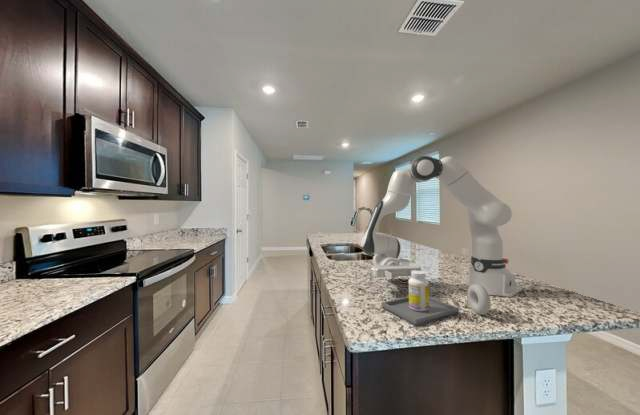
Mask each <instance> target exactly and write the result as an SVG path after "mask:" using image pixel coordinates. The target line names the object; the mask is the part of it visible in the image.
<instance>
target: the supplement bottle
mask: <svg viewBox="0 0 640 415" xmlns="http://www.w3.org/2000/svg"><path fill="white" fill-rule="evenodd" d="M411 275H412V276H411V277H410V278H409V279H408V296H409V307H410V308H411V309H412V310H415V311H421V312H423V311H427V310H428V309H429V297H430V293H429V292H430V290H429V285H430V284H429V281H428V280H427V279H426V271H423V270H421V271H412V272H411Z"/></svg>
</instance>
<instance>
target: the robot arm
mask: <svg viewBox="0 0 640 415" xmlns="http://www.w3.org/2000/svg"><path fill="white" fill-rule="evenodd" d="M435 178H436V179H438V181H441V183H442V184H443V185H444V186H445V188H447V190H448V191H449V192H450V194H451V195H452V196H453V198H455V199H456V201H457V202H459V203H460V204H462V205H463V206H464V207H465V208H466V211H465V215H466V217H467V219H468V226H469V231H470V235H471V247H472V248H471V254H472V255H471V258H470V264H471V266H470V267H469V272H468V278H467V279H468V280H467V281H466V282H465V285H466V286H468V289H469V287H470V286H471V285H473V284H479V285H481V286H483V287H484V288H485V289H486V291H487V292H488V294H489V296H497V297H498V296H499V297H500V296H501V297H509V298H512V297H514V296H516V295H517V294H519V293H520V292H521V291H523V287H522V286H520V285H517V284H516V277H515V275H514V274H513V273H512V272H511V271H509V270H508V268H506V267H507V266H506V264H507V265H508V264H509V258H504V257H503V250H504V246H503V239H502V237H501V235H500V233H499V228H498V227H502V226H504V225H506V224H508V223H509V222H510V220H511V219H512V215H513V212H512V209H511V207H510V206H509V205H508V204H506V203H505V202H503V201H501V200H500V199H499V198H497V196H495V195H494V194H493V193H492V192H491V191H490V190H488V189H487V188H485V187H484V186H483V185H482V184H481V183H480V182H479V181H478V179H476V177H475V176H474V175H473V174H472V172H470V171H469V170H468V168H466V167H465V165H463V164H462V162H460V161H459V160H458V159H457V158H456V157H453V156H450V155H449V156H444V157H442V158H440V159H438V158H436V157H432V156H429V155H421V156H419V157H417V158H416V159H415V160H413V161H412V163H411V165H410V166H409V168H408V169H402V168H400V169H397V170H395V171H393V173H392V175H391V177H390V179H389V182H388V185H387V189H386V190H387V191H386V193H385V196H384V197H383V199H382V200H379V201H378V202H377V203H376V204H375V207H374V210H373V212H372V214H371V218H370V220H369V222H368V225H367V227H366V230H365V231H364V233H363V235H362V238H361V240H360V248H361V249H362V250H363V252H364V253H365V254H367V255H368V254H370V255H374V256H373V257H372V264H373V266H372V267H370V268H369V270H370V271H371V272H372V274H373V276H374V277H375V278H390V279H393V278H397V277H398V278H399V277H412V275H411V272H412V271H422V267H421V266H420V265H418V264H417V263H415V262H412V261H411V260H410V259H405V258H402V259H401V258H399V257H400V254H401V246H402V245H401V243H400V241H399V239H398V238H397V237H396V236H393V235H384V234H379V233H377V231H378V228H379V225H380V223H381V220H383V218H384V217H385V216H387V215H389V214H392V213H393V214H394V213H398V212H401V211H403V210H405V209H406V208H407V207H408V206H409V204H410V201H411V197H412V196H411V195H412V192H413V188H414V185H415V184H416V183H423V182H425V183H426V182H428V181H430V180H432V179H435Z"/></svg>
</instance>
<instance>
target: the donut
mask: <svg viewBox="0 0 640 415" xmlns="http://www.w3.org/2000/svg"><path fill="white" fill-rule="evenodd" d="M466 293H467V294H466V296H467V301H468V302H467V303H468V305H469V307H470V309H471V310H472V312H474V313H475V314H477V315H480V316H483V315H484V316H485V315H486V314H488V313H489V311H490V309H491V305H492V304H491V298H490V295H489V294H488V292H487V291H486V289H485V288H484V287H483V286H481V285H479V284H473V285H471V286H470V287H469V288H468V290H467V292H466Z"/></svg>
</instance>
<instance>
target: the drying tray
mask: <svg viewBox="0 0 640 415" xmlns="http://www.w3.org/2000/svg"><path fill="white" fill-rule="evenodd" d="M381 308H382V309H383V310H385V311H387V313H388V312H389V313H391V314H392V315H394V316H396V317H398V318H399V319H400V320H403V319H404V320H403V321H405V320H406V321H405V322H407V323H408V322H409V324H410V323H411V325H412V326H414V327H419V326H422V325H425V324H429V323H431V322H432V323H433V322H435V321H438V320H442V319H446V318H449V317H453V316H456V315H459V314H460V313H459V312H460V310H459V307H458V306H455V305H451V304H449V303H446V302H443V301H442V300H440V299H439V300H438V299H436V298H434V297H431V296H429V309H428V310H427V311H423V312H421V311H415V310H412V309H411V308H410V307H409V295H408V296H405V297H404V296H403V297H400V298H395V299H391V300H386V301H382V302H381Z"/></svg>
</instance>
